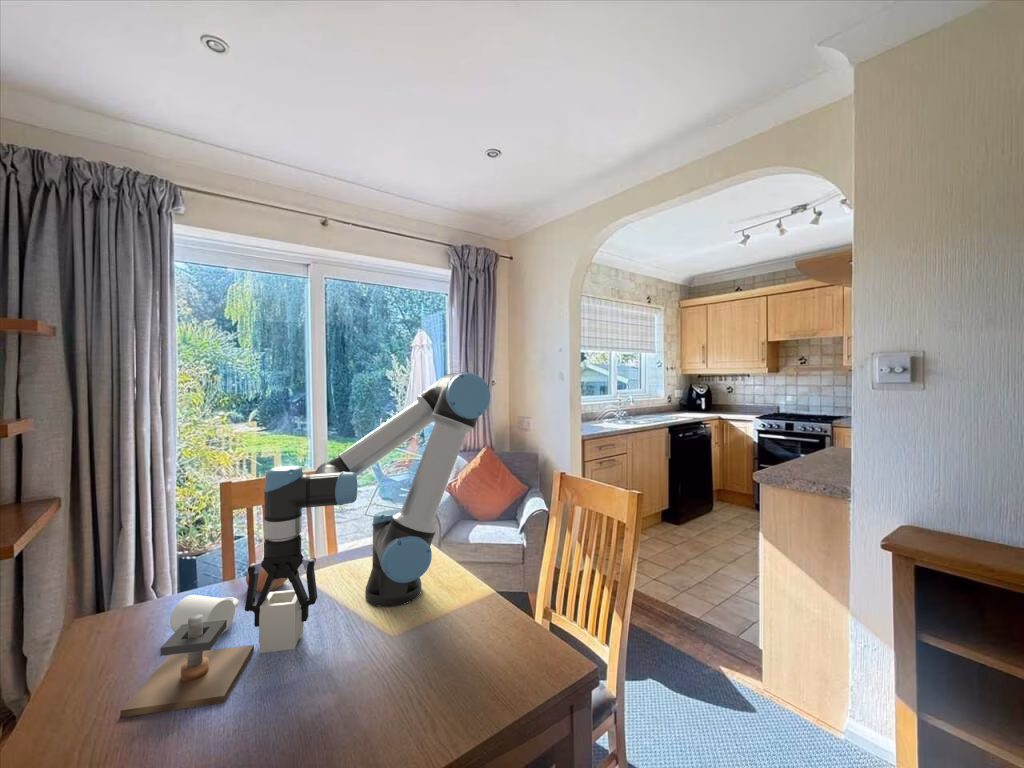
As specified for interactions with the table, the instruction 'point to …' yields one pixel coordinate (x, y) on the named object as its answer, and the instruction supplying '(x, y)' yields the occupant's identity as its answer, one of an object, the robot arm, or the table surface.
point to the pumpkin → (262, 580)
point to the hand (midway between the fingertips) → (281, 637)
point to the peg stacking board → (190, 677)
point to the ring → (193, 639)
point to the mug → (203, 610)
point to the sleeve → (278, 622)
